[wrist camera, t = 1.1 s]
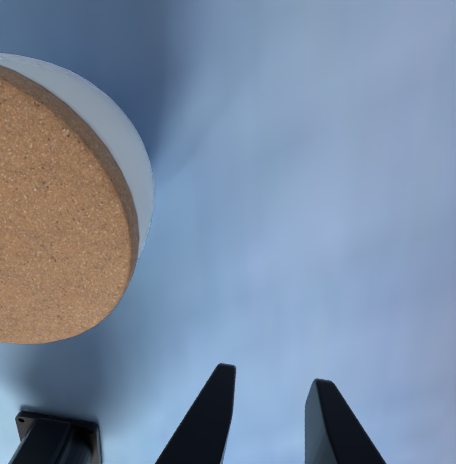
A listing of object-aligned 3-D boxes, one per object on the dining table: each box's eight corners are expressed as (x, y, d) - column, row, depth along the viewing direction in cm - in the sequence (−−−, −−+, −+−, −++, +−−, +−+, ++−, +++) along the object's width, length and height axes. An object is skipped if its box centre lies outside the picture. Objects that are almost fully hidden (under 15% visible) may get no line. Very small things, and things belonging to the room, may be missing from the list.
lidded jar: (-53, 24, 17) (-347, 31, 9) (185, 55, 17) (106, 92, 9) (-7, 232, 22) (-165, 356, 14) (174, 258, 22) (119, 400, 14)
